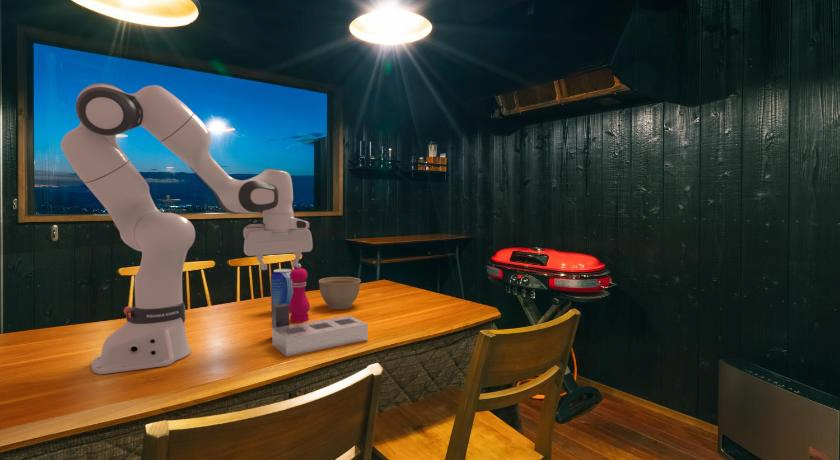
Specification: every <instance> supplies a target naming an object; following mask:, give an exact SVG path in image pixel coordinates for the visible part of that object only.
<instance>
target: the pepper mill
mask: <svg viewBox="0 0 840 460" xmlns="http://www.w3.org/2000/svg"><path fill="white" fill-rule="evenodd" d="M291 270H292V271H291V273H290V279H291V280H292V287H293V295H292V298H291V301H290V303H289V311H290V313H289V322H292V323H305V322H306V321H308V320H309V319H310V317H309V314H308V313H309V311H310V309H311V307H310V305H311V304H310V301H309V300H308V298H307V295H306V286H307V281H306V280H307V279H308V276H309V275H308V272H307V270H306V269H305V268H302V265H301V263H298V267H294V269H291Z"/></svg>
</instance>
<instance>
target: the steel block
mask: <svg viewBox="0 0 840 460" xmlns="http://www.w3.org/2000/svg"><path fill="white" fill-rule="evenodd" d="M288 325H290V313H289V305H287V304H285V303H283V304H275V305H272V310H271V329H272V328H276V327H282V326H288Z"/></svg>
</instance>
